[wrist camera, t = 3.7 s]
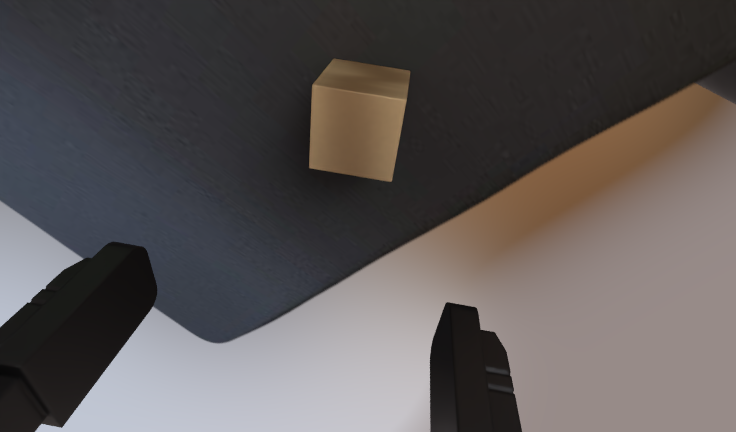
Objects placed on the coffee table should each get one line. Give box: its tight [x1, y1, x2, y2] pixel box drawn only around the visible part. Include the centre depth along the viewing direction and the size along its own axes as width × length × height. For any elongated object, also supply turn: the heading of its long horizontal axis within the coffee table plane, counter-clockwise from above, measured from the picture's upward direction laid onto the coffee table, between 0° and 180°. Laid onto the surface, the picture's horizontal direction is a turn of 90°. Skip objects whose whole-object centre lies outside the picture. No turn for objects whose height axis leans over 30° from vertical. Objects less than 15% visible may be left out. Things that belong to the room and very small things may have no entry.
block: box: [309, 59, 410, 182], centre depth 21 cm, size 4×4×5 cm
